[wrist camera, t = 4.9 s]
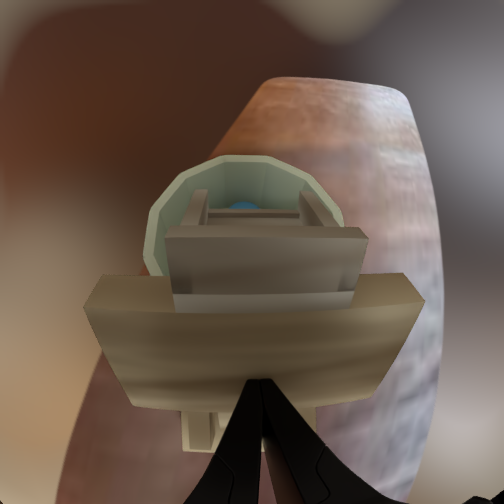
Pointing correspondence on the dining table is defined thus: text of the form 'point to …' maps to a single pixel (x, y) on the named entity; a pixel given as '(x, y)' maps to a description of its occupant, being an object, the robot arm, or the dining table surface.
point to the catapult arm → (254, 312)
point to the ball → (244, 205)
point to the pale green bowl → (228, 196)
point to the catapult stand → (217, 429)
